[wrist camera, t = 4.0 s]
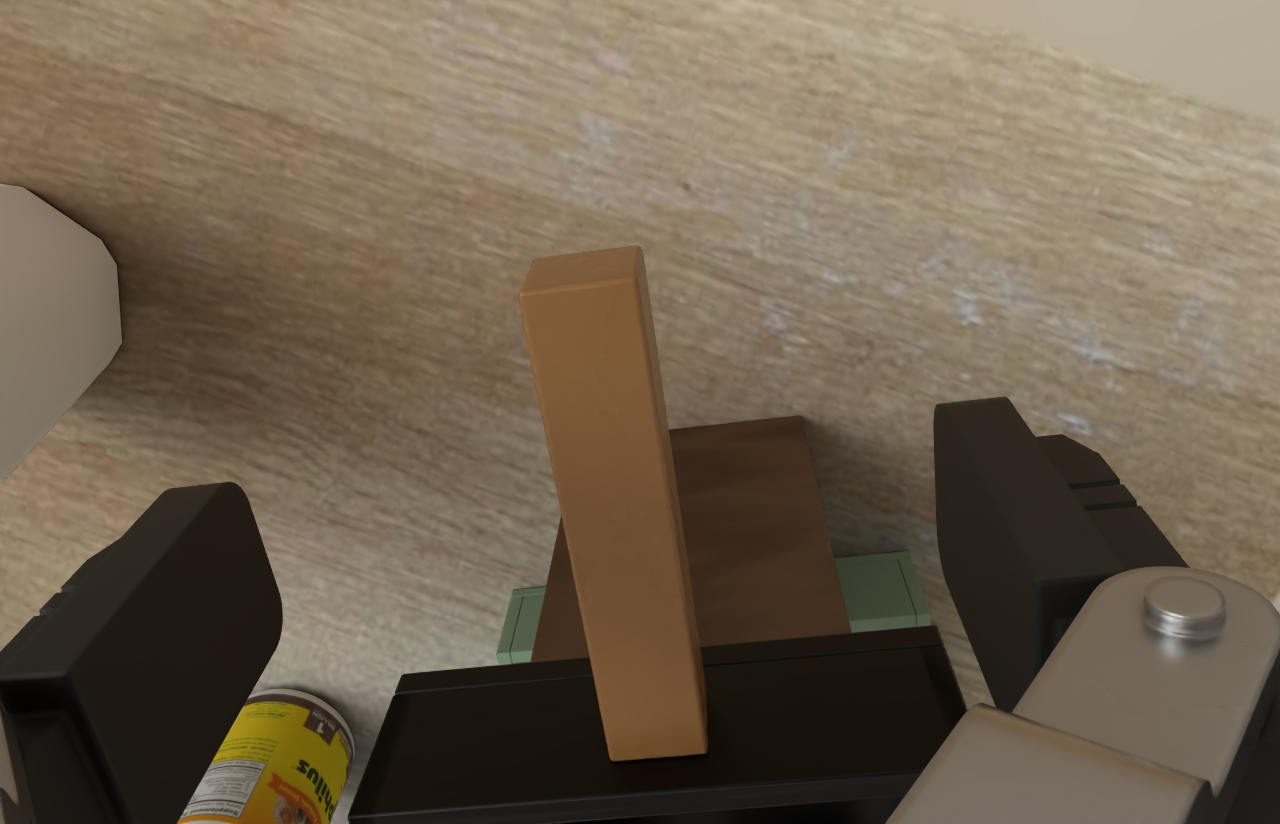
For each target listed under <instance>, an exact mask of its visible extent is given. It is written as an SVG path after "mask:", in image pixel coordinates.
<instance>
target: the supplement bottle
mask: <svg viewBox="0 0 1280 824" xmlns="http://www.w3.org/2000/svg"><path fill="white" fill-rule="evenodd" d="M354 754H355V749H354V741H353V737H352V734H351V732H350V729H349V727H348V725H347V724H346V722H345V721H344V719H343V718H342V717H341V716H340V714H339V713H338V712H337V711H336V710H335V709H333V708H332V707H331V706H330V705H328V704H327V703H326V702H324V701H322V700H321V699H319V698H317V697H315V696H313V695H310V694H307V693H304V692H301V691H296V690H291V689H270V690H264V691H260V692H257V693H254V694H252V695H250V696H249V697H248V699H247V701H246V703H245V704H244V706H243V708H242V710H241V711H240V713H239V715H238V717H237V719H236V720H235V722H234V724H233V726H232V727H231V729H230V731H229V733H228V734H227V736H226V738H225V740H224V741H223V743H222V745H221V747H220V749H219V750H218V752H217V754H216V756H215V757H214V759H213V761H212V763H211V764H210V766H209V768H208V770H207V771H206V773H205V775H204V777H203V779H202V780H201V782H200V784H199V786H198V787H197V789H196V791H195V793H194V794H193V796H192V798H191V800H190V802H189V803H188V805H187V807H186V809H185V810H184V812H183V814H182V816H181V817H180V819H179V821H178V823H177V824H330V822H331V819H332V817H333V814H334V812H335V809H336V807H337V804H338V802H339V799H340V797H341V794H342V792H343V789H344V787H345V784H346V782H347V779H348V777H349V774H350V771H351V768H352V765H353V761H354Z"/></svg>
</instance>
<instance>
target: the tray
mask: <svg viewBox="0 0 1280 824" xmlns="http://www.w3.org/2000/svg"><path fill="white" fill-rule="evenodd" d="M835 563H836V567H837V571H838V575H839V579H840V584H841V588H842V592H843V596H844V601H845V605H846V609H847V613H848V617H849V622H850V626H851V630H852V633H853V632H864V631H875V630H886V629H897V628H908V627H918V626H929V625H931V613H930V610H929V607H928V605H927V602H926V599H925V596H924V593H923V591H922V588H921V585H920V582H919V579H918V577H917V574H916V571H915V568H914V565H913V563H912V560H911V557H910V554H909V552H908V551H901V552H891V553H881V554H871V555H861V556H851V557H841V558H835ZM545 590H546V587H537V588H527V589H517V590H513V592H512V596H511V600H510V604H509V608H508V612H507V615H506V619H505V623H504V627H503V631H502V635H501V638H500V642H499V646H498V650H497V654H496V655H497V659H498V663H499V665H506V664H517V663H528V662H530V660H531V656H532V651H533V646H534V642H535V637H536V632H537V627H538V623H539V618H540V613H541V609H542V604H543V599H544V594H545Z"/></svg>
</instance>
